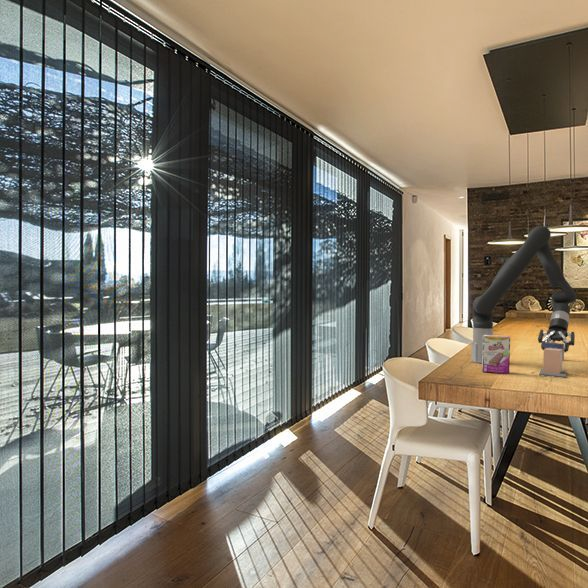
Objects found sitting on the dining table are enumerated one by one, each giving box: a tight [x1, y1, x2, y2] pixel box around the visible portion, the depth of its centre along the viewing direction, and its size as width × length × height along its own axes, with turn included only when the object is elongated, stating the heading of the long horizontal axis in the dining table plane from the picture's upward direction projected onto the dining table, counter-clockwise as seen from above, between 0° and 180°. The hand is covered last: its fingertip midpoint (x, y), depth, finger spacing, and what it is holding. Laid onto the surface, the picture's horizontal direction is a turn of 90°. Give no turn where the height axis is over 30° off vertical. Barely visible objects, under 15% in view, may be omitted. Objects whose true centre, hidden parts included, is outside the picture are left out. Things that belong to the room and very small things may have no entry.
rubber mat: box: [538, 367, 567, 379], centre depth 210 cm, size 16×10×1 cm, turn 150°
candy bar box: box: [481, 334, 511, 375], centre depth 212 cm, size 11×5×16 cm, turn 71°
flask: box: [545, 340, 565, 360], centre depth 249 cm, size 9×3×11 cm, turn 50°
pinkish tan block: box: [542, 348, 564, 374], centre depth 210 cm, size 6×6×10 cm
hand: (554, 350), depth 212 cm, fingers open, 8 cm apart
